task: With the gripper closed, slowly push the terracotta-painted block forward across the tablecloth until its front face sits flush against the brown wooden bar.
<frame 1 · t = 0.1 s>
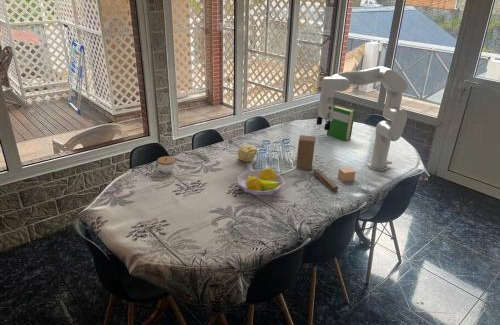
hand: (322, 127, 217), 31 cm above the table, fingers open, 9 cm apart
fruit bowl: (261, 190, 209), on the table
block: (345, 178, 226), on the table
wooden block: (304, 166, 239), on the table
brown wooden bar: (325, 181, 220), on the table
lidded jar: (167, 171, 225), on the table
hardback book: (338, 137, 292), on the table
pale yellow lumpy ball: (246, 160, 245), on the table
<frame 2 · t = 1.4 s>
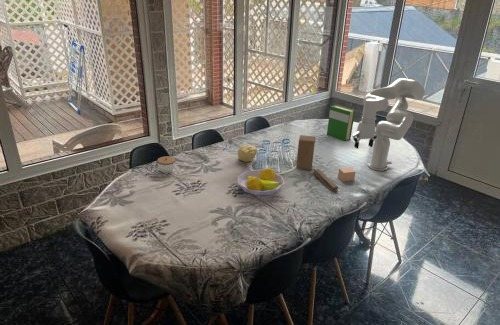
hand: (363, 147, 220), 20 cm above the table, fingers open, 9 cm apart
nothing on the table moved.
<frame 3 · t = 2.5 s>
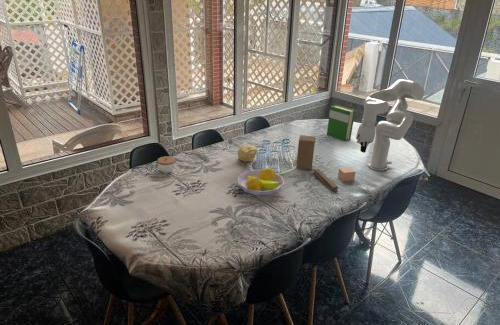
hand: (362, 151, 221), 17 cm above the table, fingers closed
nothing on the table moved.
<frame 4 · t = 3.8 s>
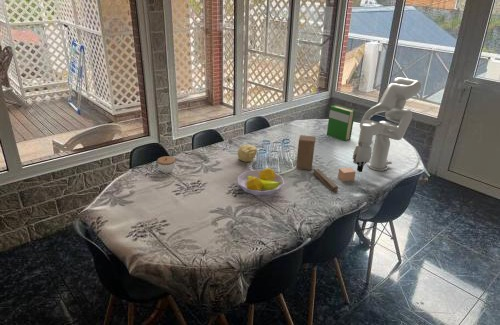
hand: (359, 171, 226), 4 cm above the table, fingers closed
nothing on the table moved.
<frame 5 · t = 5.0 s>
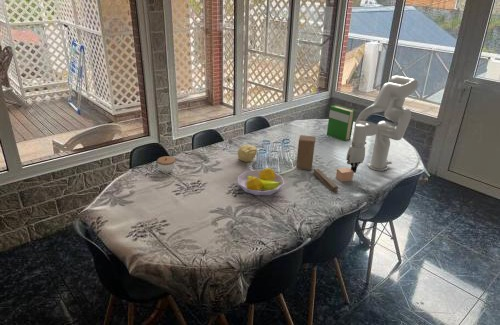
hand: (353, 171, 225), 4 cm above the table, fingers closed
block: (343, 178, 225), on the table, touching gripper
everything else where it was.
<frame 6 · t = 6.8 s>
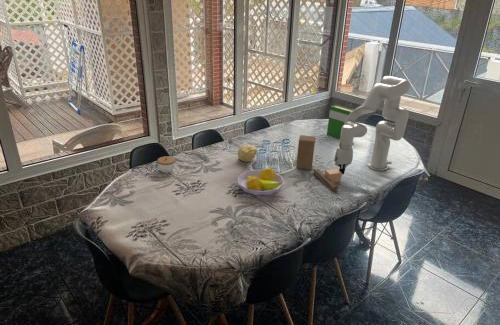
hand: (341, 173, 223), 4 cm above the table, fingers closed
block: (332, 180, 223), on the table, touching brown wooden bar, gripper
everything else where it was.
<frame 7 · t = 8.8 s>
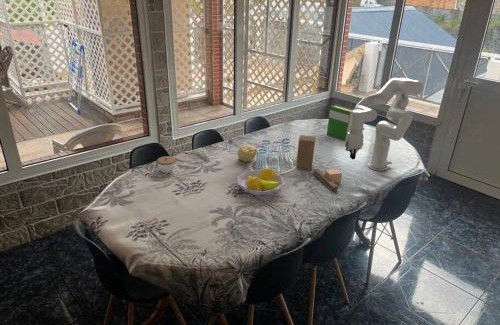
hand: (352, 158, 224), 12 cm above the table, fingers closed
block: (332, 180, 223), on the table
everything else where it was.
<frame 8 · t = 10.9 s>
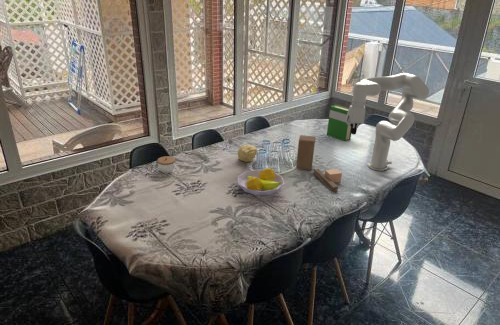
hand: (353, 133, 221), 27 cm above the table, fingers closed
nothing on the table moved.
at the end: block inside the target area on the table beside the brown wooden bar (1.2 cm from its centre), on the table; block tilted 0°; block moved 9.5 cm from its start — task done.
